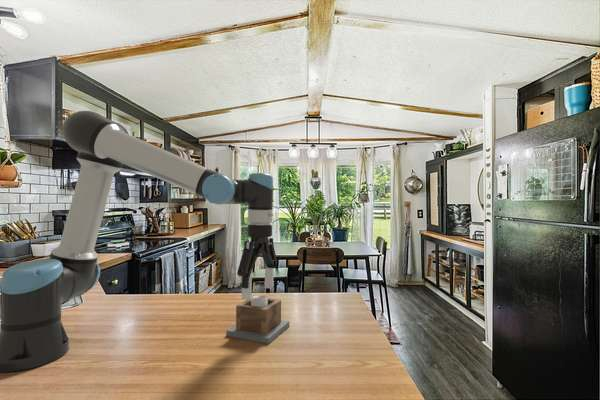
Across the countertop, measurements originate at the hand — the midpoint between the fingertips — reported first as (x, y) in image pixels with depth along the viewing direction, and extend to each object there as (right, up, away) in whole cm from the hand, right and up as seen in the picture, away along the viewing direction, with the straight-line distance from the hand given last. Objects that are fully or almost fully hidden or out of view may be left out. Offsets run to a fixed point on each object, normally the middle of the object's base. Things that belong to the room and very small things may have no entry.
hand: (258, 293), depth 97 cm
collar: (0, -10, 0) cm, 10 cm away
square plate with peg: (0, -11, 0) cm, 11 cm away
